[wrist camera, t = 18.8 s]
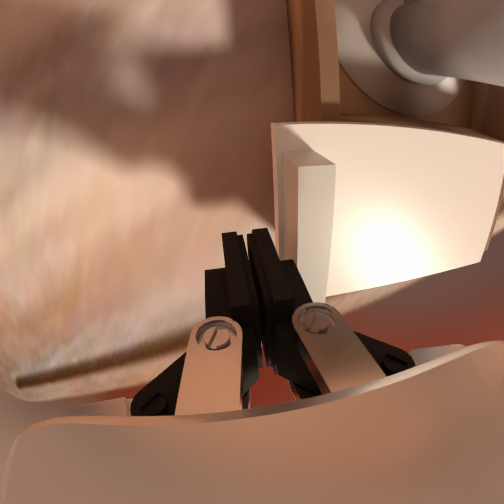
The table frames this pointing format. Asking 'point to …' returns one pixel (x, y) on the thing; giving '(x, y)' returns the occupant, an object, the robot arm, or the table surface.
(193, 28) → the table surface
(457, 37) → the grey cylinder
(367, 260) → the lid
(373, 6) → the housing
